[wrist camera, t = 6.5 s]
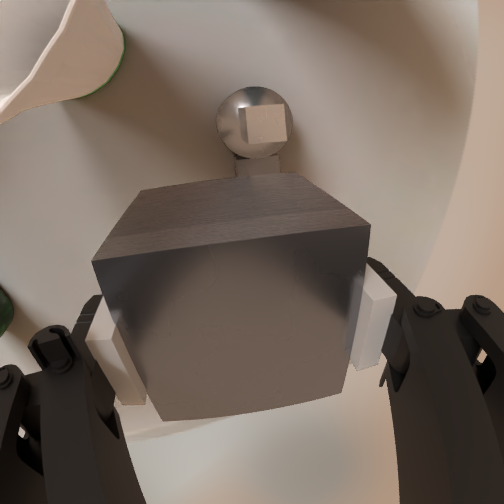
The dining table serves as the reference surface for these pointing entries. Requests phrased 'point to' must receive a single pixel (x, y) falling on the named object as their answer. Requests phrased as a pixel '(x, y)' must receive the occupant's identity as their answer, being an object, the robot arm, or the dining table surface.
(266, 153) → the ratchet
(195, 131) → the dining table surface
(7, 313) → the coffee jar
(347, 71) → the dining table surface
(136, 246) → the grey wooden cube
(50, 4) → the cup
